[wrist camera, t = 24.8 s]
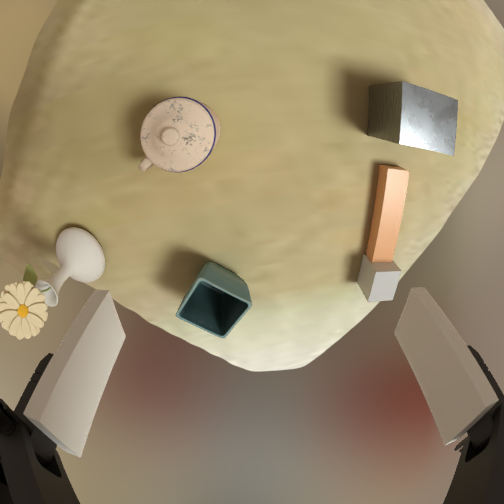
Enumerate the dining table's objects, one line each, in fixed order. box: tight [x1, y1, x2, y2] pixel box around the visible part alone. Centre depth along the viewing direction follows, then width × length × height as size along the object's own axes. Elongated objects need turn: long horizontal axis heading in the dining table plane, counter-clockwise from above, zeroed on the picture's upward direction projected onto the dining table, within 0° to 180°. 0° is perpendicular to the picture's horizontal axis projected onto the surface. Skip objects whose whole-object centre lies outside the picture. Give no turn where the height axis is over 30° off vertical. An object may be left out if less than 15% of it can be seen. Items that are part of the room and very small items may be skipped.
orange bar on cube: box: [357, 165, 409, 302], centre depth 41 cm, size 22×5×6 cm, turn 0°
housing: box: [367, 81, 458, 156], centre depth 30 cm, size 8×10×10 cm
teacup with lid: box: [139, 97, 221, 172], centre depth 31 cm, size 12×9×12 cm
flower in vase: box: [0, 227, 105, 340], centre depth 34 cm, size 13×11×25 cm
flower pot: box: [176, 262, 252, 338], centre depth 44 cm, size 9×9×9 cm
